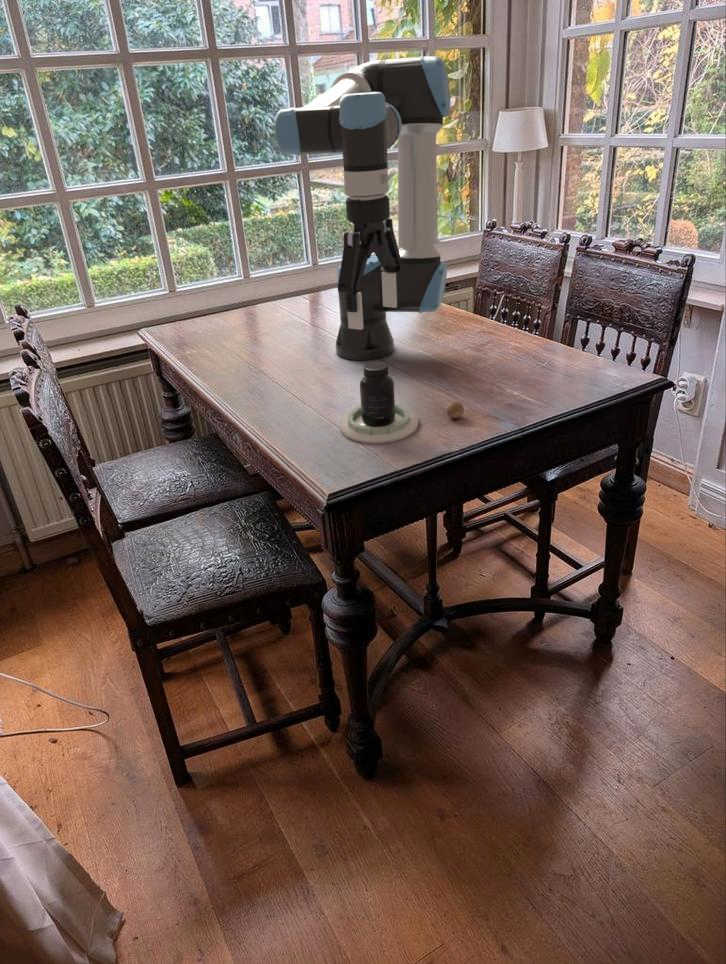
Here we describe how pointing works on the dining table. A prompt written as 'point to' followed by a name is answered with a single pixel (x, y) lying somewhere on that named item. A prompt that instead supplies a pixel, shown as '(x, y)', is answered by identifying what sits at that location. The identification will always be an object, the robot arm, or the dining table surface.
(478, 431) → the dining table surface
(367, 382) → the supplement bottle
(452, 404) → the wooden bead
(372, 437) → the plate
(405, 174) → the robot arm
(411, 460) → the dining table surface
